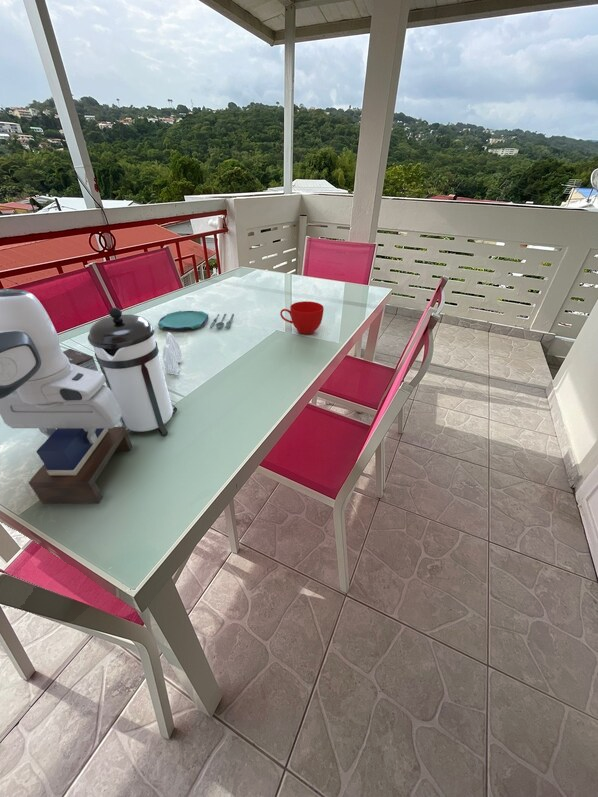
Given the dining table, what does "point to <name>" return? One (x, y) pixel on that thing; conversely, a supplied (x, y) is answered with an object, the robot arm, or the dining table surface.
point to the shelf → (81, 473)
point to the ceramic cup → (305, 316)
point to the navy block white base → (68, 450)
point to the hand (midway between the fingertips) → (76, 441)
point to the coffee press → (133, 370)
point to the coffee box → (81, 359)
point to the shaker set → (171, 355)
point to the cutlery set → (189, 320)
